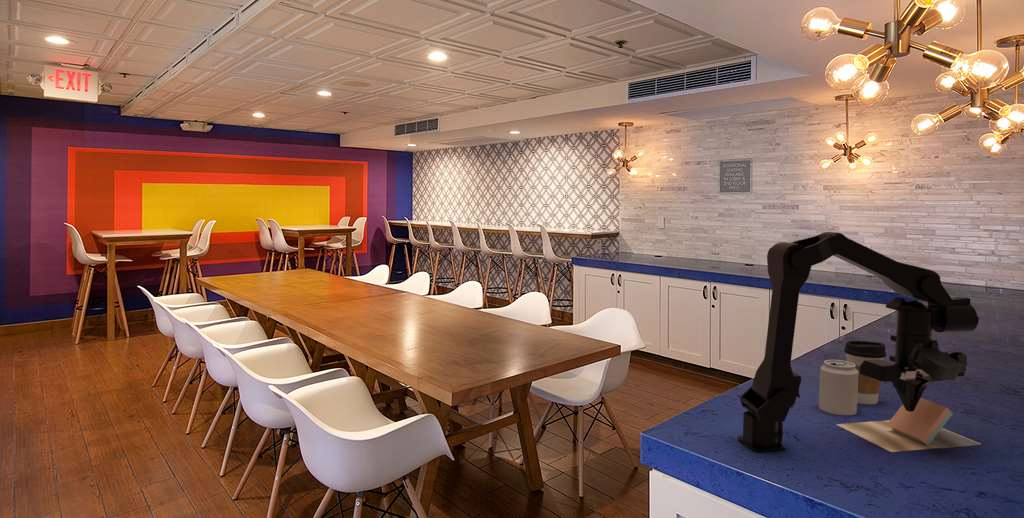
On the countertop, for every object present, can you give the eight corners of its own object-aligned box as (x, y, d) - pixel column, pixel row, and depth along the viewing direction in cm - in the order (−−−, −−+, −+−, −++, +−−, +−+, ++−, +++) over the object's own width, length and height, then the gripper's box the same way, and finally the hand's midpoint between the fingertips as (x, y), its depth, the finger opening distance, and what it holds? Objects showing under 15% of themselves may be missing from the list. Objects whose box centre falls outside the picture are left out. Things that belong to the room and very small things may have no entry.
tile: (921, 439, 110) (946, 407, 110) (886, 424, 118) (910, 394, 118) (927, 446, 110) (953, 413, 111) (892, 430, 118) (916, 399, 118)
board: (893, 459, 107) (893, 452, 107) (835, 429, 121) (836, 423, 121) (983, 450, 111) (983, 444, 111) (917, 423, 125) (917, 417, 125)
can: (822, 406, 136) (824, 356, 135) (859, 413, 131) (861, 361, 130) (814, 415, 130) (817, 363, 129) (853, 423, 125) (856, 368, 124)
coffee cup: (876, 413, 131) (879, 348, 130) (835, 404, 137) (839, 342, 136) (888, 405, 136) (891, 342, 135) (849, 396, 143) (852, 336, 141)
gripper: (908, 344, 102) (903, 430, 104) (995, 339, 106) (990, 422, 107) (859, 331, 113) (856, 409, 115) (940, 327, 117) (935, 402, 118)
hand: (909, 411), depth 113 cm, fingers closed
